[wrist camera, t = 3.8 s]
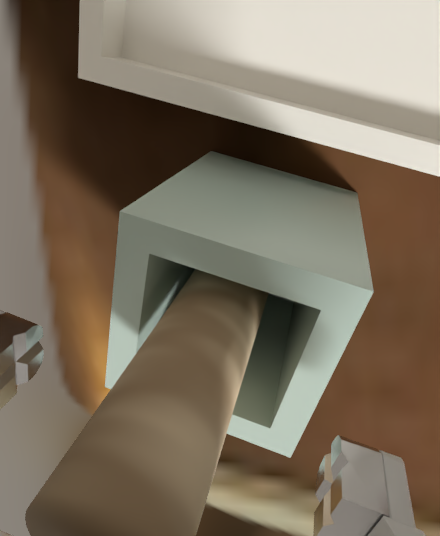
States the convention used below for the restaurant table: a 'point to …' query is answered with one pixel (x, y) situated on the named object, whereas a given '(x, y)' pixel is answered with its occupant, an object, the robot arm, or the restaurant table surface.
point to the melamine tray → (282, 66)
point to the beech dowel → (158, 423)
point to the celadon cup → (249, 279)
